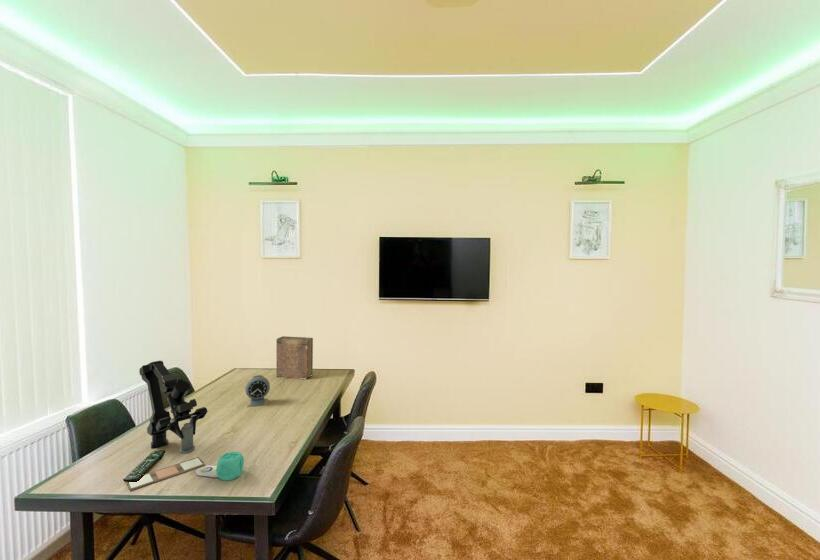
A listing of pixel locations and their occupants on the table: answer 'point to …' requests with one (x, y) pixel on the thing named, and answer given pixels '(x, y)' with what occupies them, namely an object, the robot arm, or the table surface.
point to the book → (294, 357)
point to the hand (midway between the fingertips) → (188, 436)
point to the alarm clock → (257, 390)
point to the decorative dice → (230, 466)
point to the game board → (166, 473)
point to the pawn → (187, 439)
